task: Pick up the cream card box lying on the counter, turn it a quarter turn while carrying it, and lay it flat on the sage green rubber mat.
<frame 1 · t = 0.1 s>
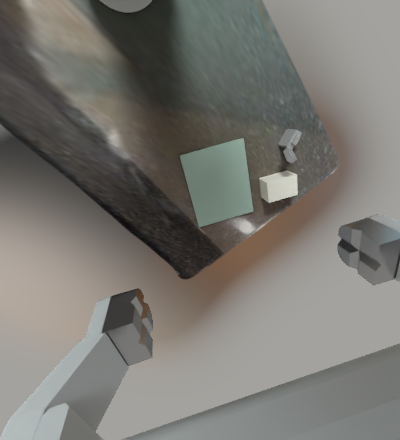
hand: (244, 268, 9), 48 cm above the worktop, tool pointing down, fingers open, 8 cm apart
mat: (219, 185, 58), on the worktop
lighter: (281, 143, 56), on the worktop
card box: (273, 183, 61), on the worktop
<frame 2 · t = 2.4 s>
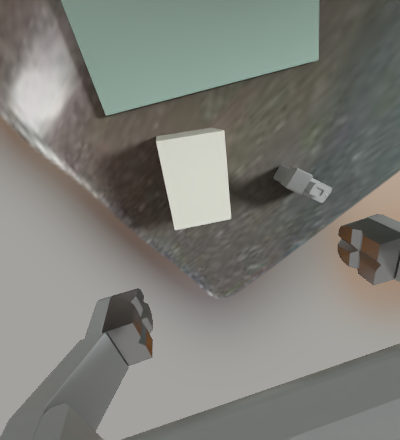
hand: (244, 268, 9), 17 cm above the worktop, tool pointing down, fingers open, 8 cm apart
lighter: (279, 173, 26), on the worktop
card box: (190, 171, 24), on the worktop
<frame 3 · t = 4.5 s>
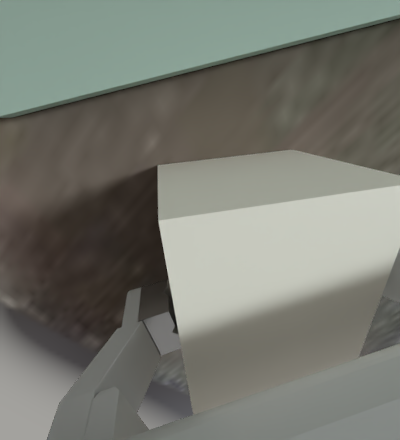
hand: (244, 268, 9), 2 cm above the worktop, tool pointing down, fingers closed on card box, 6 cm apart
card box: (229, 243, 10), on the worktop, touching gripper
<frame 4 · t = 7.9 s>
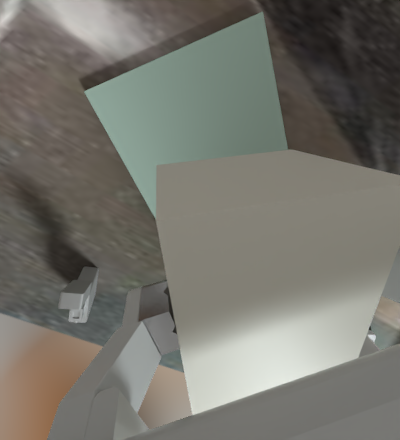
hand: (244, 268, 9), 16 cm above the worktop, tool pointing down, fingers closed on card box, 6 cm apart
mat: (211, 163, 23), on the worktop
lighter: (91, 269, 26), on the worktop
card box: (229, 243, 10), point 15 cm above the worktop, touching gripper
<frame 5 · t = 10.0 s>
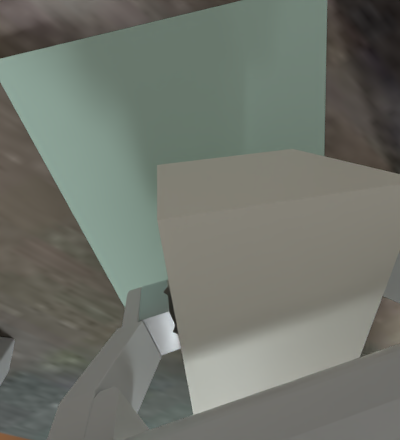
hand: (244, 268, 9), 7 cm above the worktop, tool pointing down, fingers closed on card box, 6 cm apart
mat: (208, 207, 15), on the worktop
lighter: (2, 339, 17), on the worktop
card box: (229, 243, 10), point 5 cm above the worktop, touching gripper
when the fingers open (4 cm above the worktop, at t = 11.6 s): card box drops 1 cm, resting on mat.
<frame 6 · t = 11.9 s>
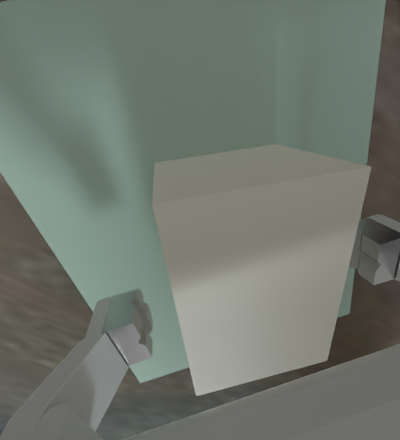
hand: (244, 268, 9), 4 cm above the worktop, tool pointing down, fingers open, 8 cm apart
mat: (218, 224, 12), on the worktop
card box: (223, 232, 11), point 1 cm above the worktop, touching mat
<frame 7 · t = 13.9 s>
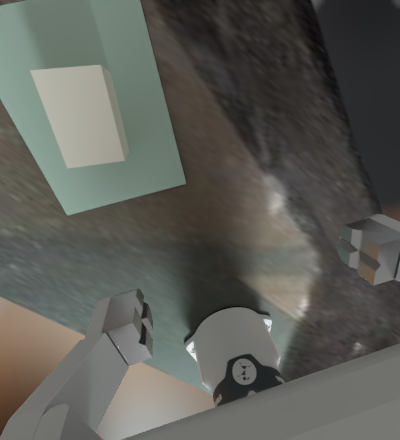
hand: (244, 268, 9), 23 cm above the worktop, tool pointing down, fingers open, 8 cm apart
mat: (96, 117, 25), on the worktop
card box: (95, 118, 24), point 1 cm above the worktop, touching mat
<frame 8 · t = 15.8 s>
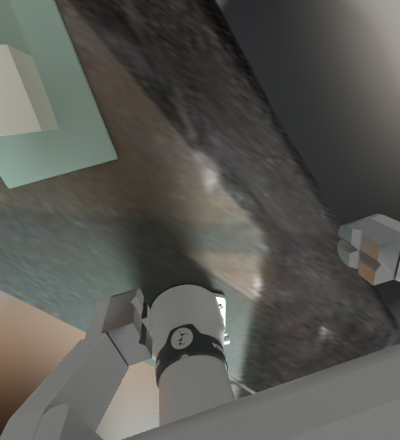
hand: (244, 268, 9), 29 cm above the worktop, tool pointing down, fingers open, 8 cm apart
mat: (26, 98, 28), on the worktop
card box: (23, 97, 28), point 1 cm above the worktop, touching mat
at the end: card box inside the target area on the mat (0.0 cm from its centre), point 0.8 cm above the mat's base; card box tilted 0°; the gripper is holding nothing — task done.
